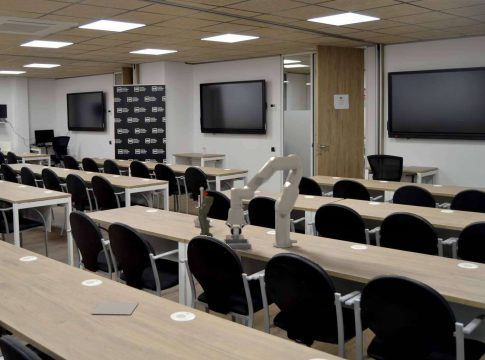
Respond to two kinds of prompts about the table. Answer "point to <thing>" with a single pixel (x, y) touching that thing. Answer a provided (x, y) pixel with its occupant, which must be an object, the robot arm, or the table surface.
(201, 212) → the mechanical leg
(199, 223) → the flag stand
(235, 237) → the pin
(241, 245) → the tray
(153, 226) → the table surface
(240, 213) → the robot arm
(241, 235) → the pin block
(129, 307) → the grey flat slab
